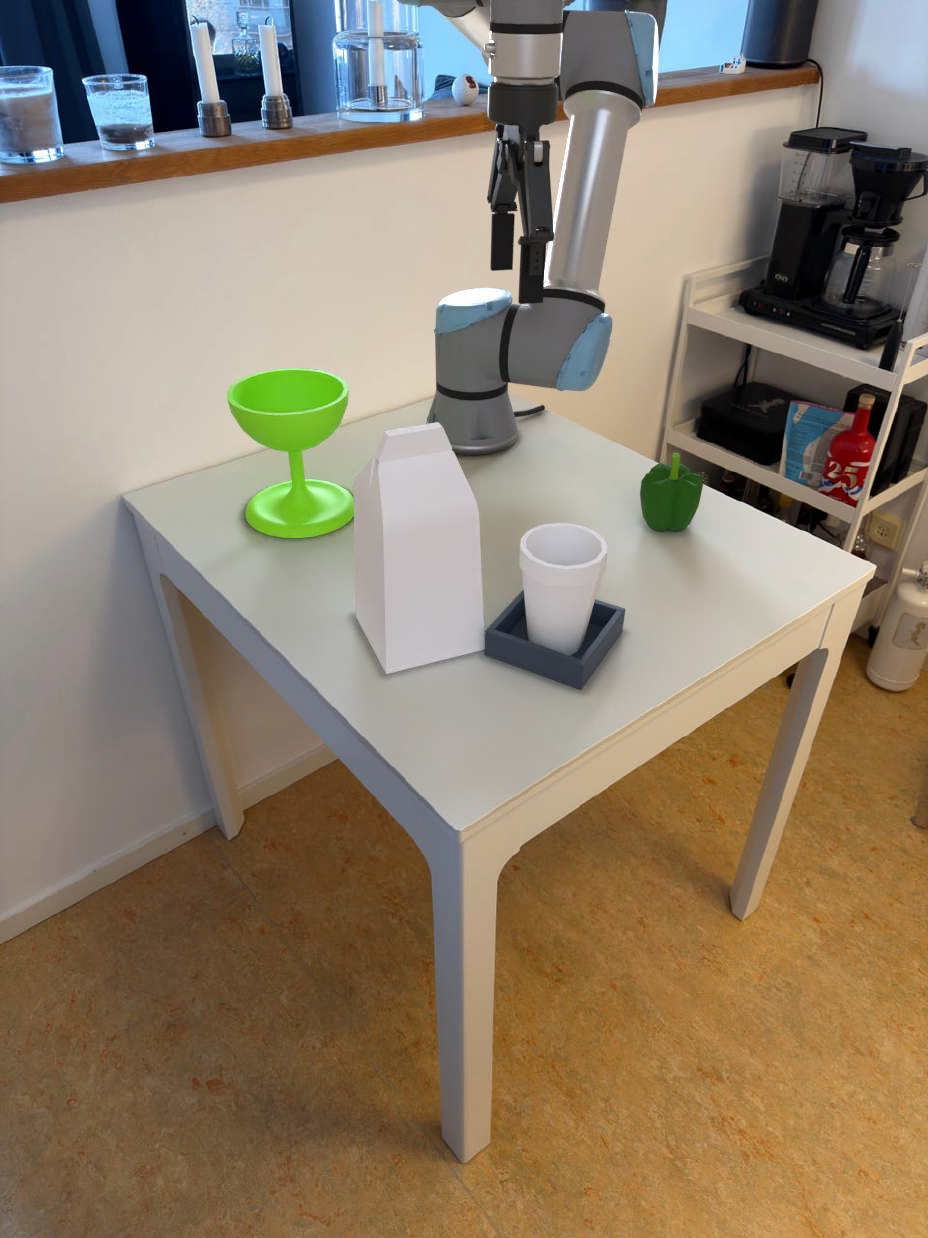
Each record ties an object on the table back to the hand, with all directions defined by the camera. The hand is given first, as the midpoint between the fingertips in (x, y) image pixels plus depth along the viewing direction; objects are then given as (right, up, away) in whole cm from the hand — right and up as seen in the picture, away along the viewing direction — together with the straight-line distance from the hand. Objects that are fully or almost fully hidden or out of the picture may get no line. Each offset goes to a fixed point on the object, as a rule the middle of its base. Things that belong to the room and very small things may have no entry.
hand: (515, 285), depth 108 cm
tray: (+4, -43, -3) cm, 43 cm away
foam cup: (+4, -43, -3) cm, 43 cm away
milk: (-11, -42, -1) cm, 44 cm away
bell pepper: (+23, -27, +19) cm, 40 cm away
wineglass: (-30, -24, +22) cm, 44 cm away
